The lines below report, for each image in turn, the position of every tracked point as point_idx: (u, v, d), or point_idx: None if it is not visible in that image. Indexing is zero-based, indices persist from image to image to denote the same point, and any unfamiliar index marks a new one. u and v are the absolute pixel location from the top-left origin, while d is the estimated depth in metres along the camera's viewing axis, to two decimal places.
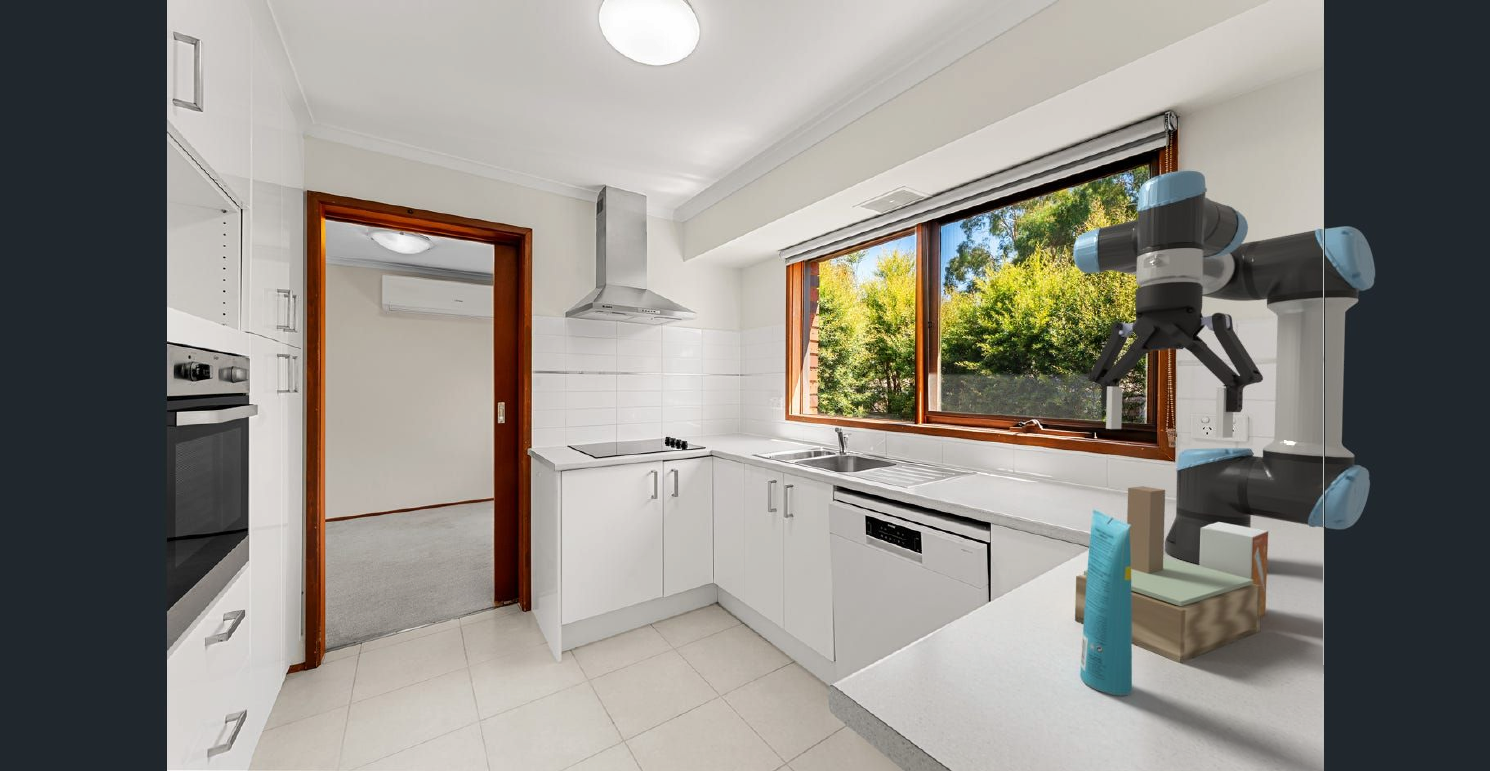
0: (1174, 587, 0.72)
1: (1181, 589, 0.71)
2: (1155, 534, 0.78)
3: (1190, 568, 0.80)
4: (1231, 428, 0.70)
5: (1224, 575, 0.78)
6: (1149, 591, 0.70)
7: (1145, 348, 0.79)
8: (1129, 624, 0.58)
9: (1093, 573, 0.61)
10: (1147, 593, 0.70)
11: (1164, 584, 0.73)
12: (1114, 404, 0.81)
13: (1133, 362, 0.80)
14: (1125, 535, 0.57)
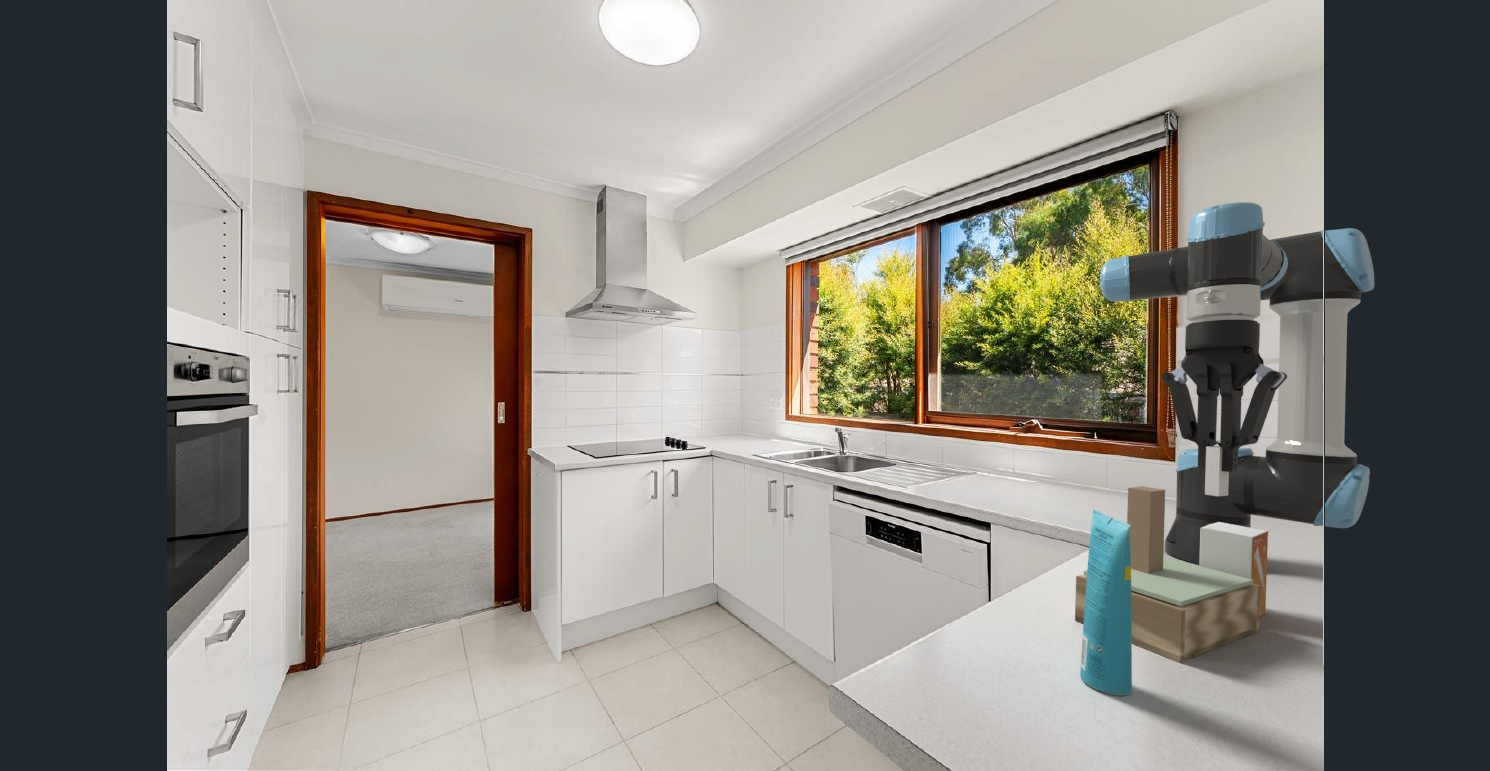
0: (1174, 587, 0.72)
1: (1181, 589, 0.71)
2: (1155, 534, 0.78)
3: (1190, 568, 0.80)
4: (1227, 486, 0.72)
5: (1224, 575, 0.78)
6: (1149, 591, 0.70)
7: None
8: (1129, 624, 0.58)
9: (1093, 573, 0.61)
10: (1147, 593, 0.70)
11: (1164, 584, 0.73)
12: None
13: (1213, 408, 0.73)
14: (1125, 535, 0.57)
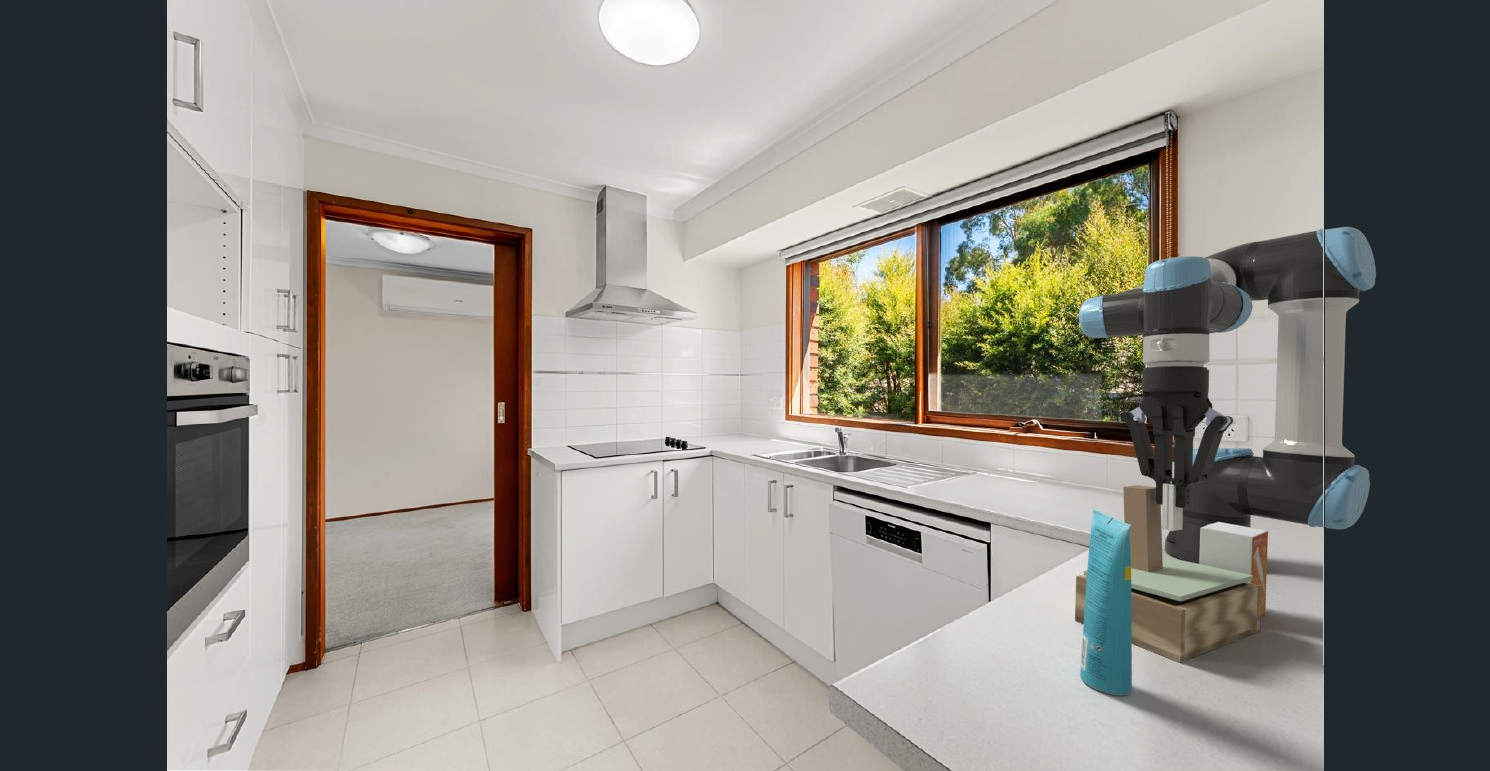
0: (1174, 583, 0.72)
1: (1181, 585, 0.71)
2: (1152, 531, 0.78)
3: (1190, 566, 0.80)
4: (1181, 521, 0.76)
5: (1224, 572, 0.78)
6: (1149, 587, 0.70)
7: (1168, 430, 0.78)
8: (1129, 624, 0.58)
9: (1093, 573, 0.61)
10: (1147, 590, 0.70)
11: (1164, 581, 0.73)
12: None
13: (1169, 447, 0.77)
14: (1125, 535, 0.57)
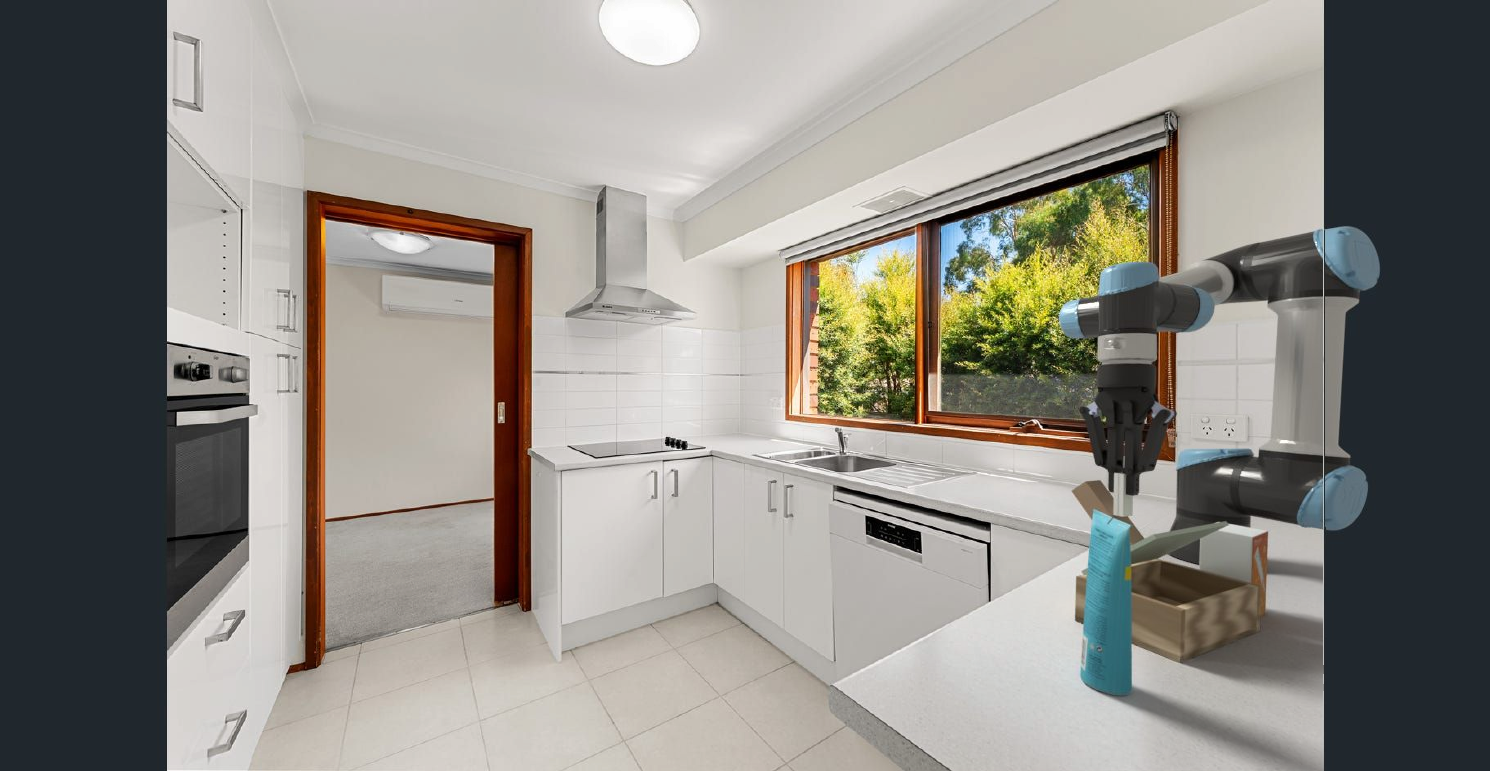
0: None
1: None
2: (1118, 516, 0.83)
3: None
4: (1131, 508, 0.82)
5: None
6: (1130, 546, 0.72)
7: (1120, 423, 0.83)
8: (1129, 624, 0.58)
9: (1093, 573, 0.61)
10: None
11: None
12: None
13: (1120, 439, 0.83)
14: (1125, 535, 0.57)
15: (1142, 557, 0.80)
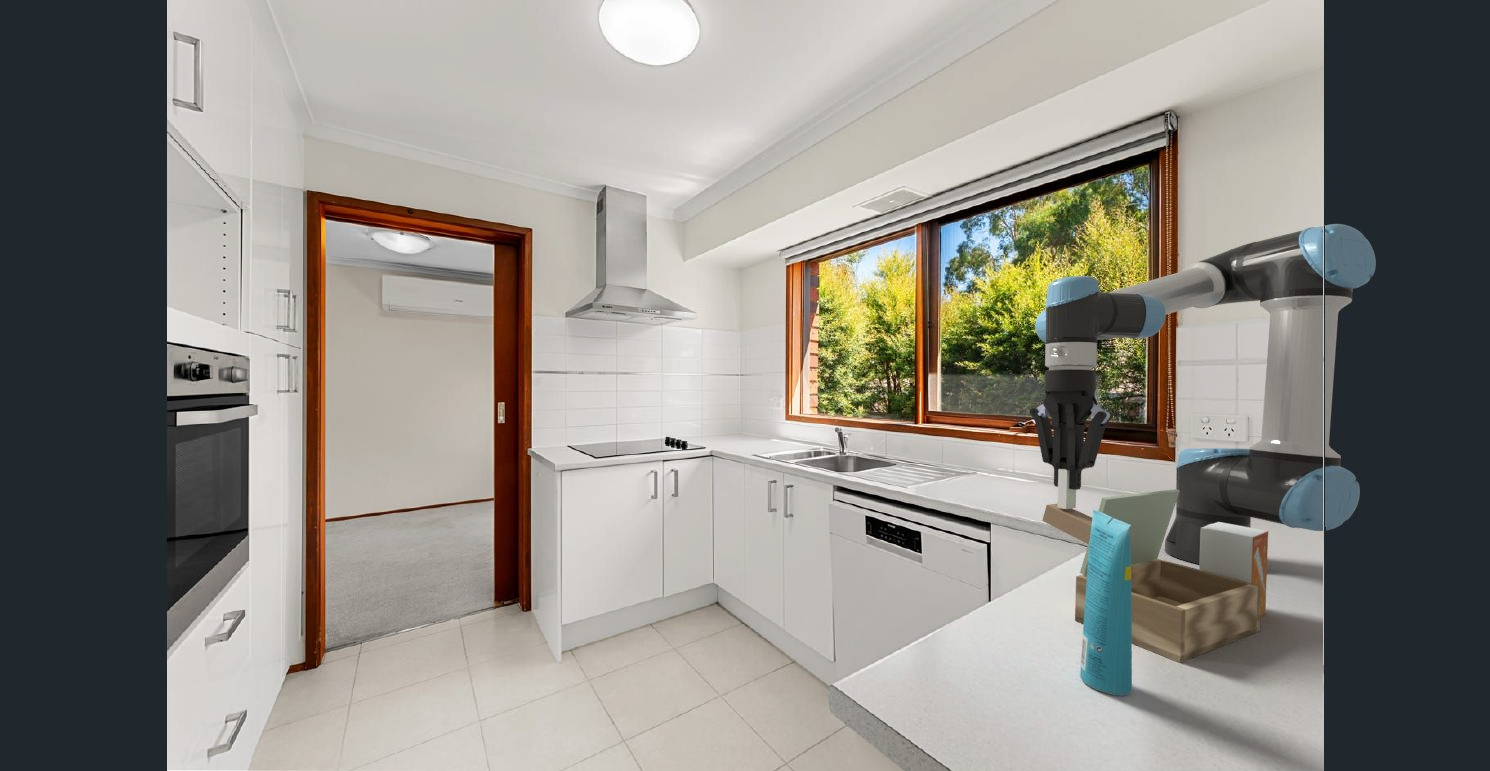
0: None
1: None
2: (1088, 521, 0.86)
3: None
4: (1074, 501, 0.90)
5: None
6: None
7: (1065, 424, 0.91)
8: (1129, 624, 0.58)
9: (1093, 573, 0.61)
10: None
11: None
12: None
13: (1065, 438, 0.91)
14: (1125, 535, 0.57)
15: (1130, 547, 0.82)
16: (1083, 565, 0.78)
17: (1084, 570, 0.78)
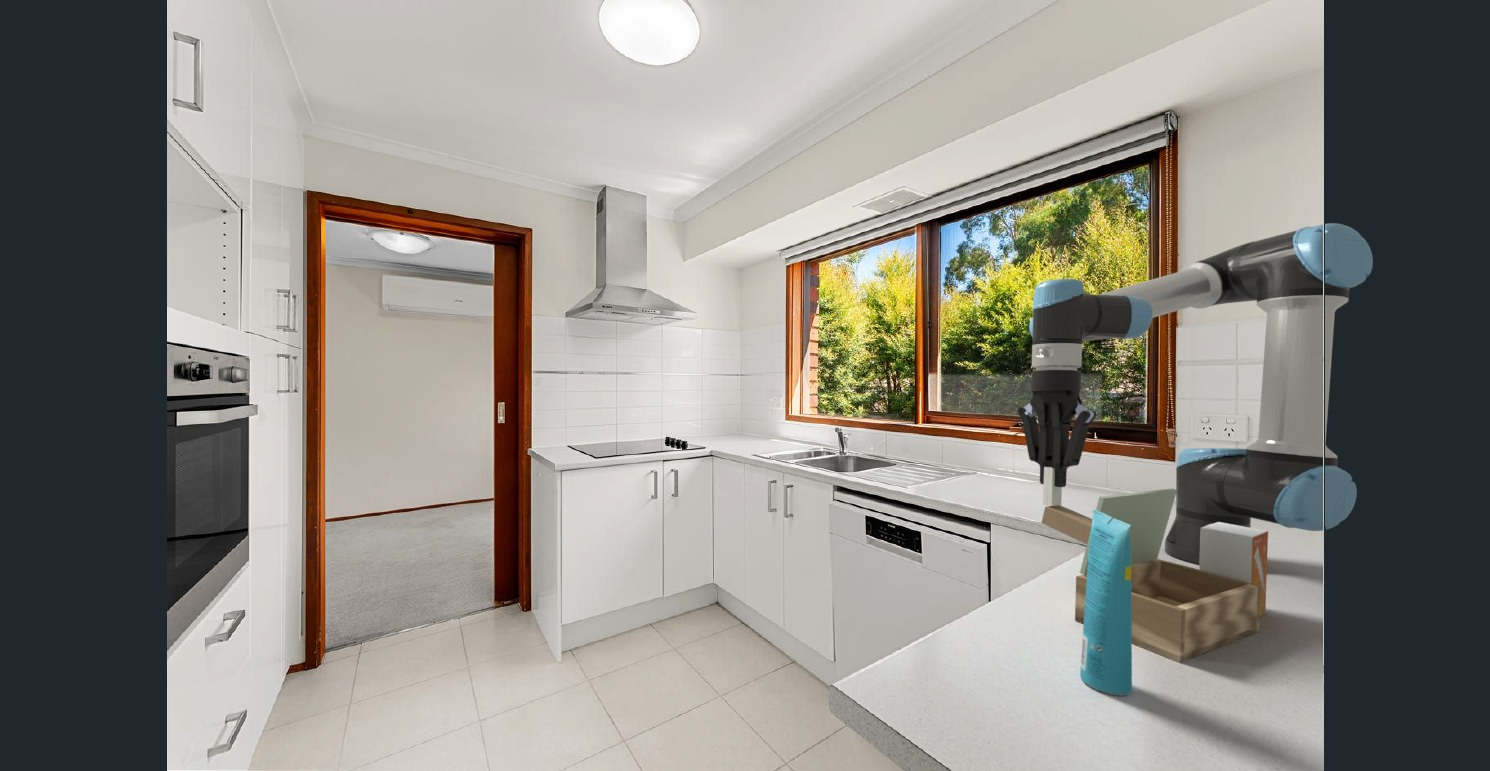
0: None
1: None
2: (1087, 522, 0.87)
3: None
4: (1060, 498, 0.92)
5: None
6: None
7: (1051, 423, 0.94)
8: (1129, 624, 0.58)
9: (1093, 573, 0.61)
10: None
11: None
12: None
13: (1051, 437, 0.93)
14: (1125, 535, 0.57)
15: None
16: (1083, 565, 0.78)
17: (1084, 570, 0.78)
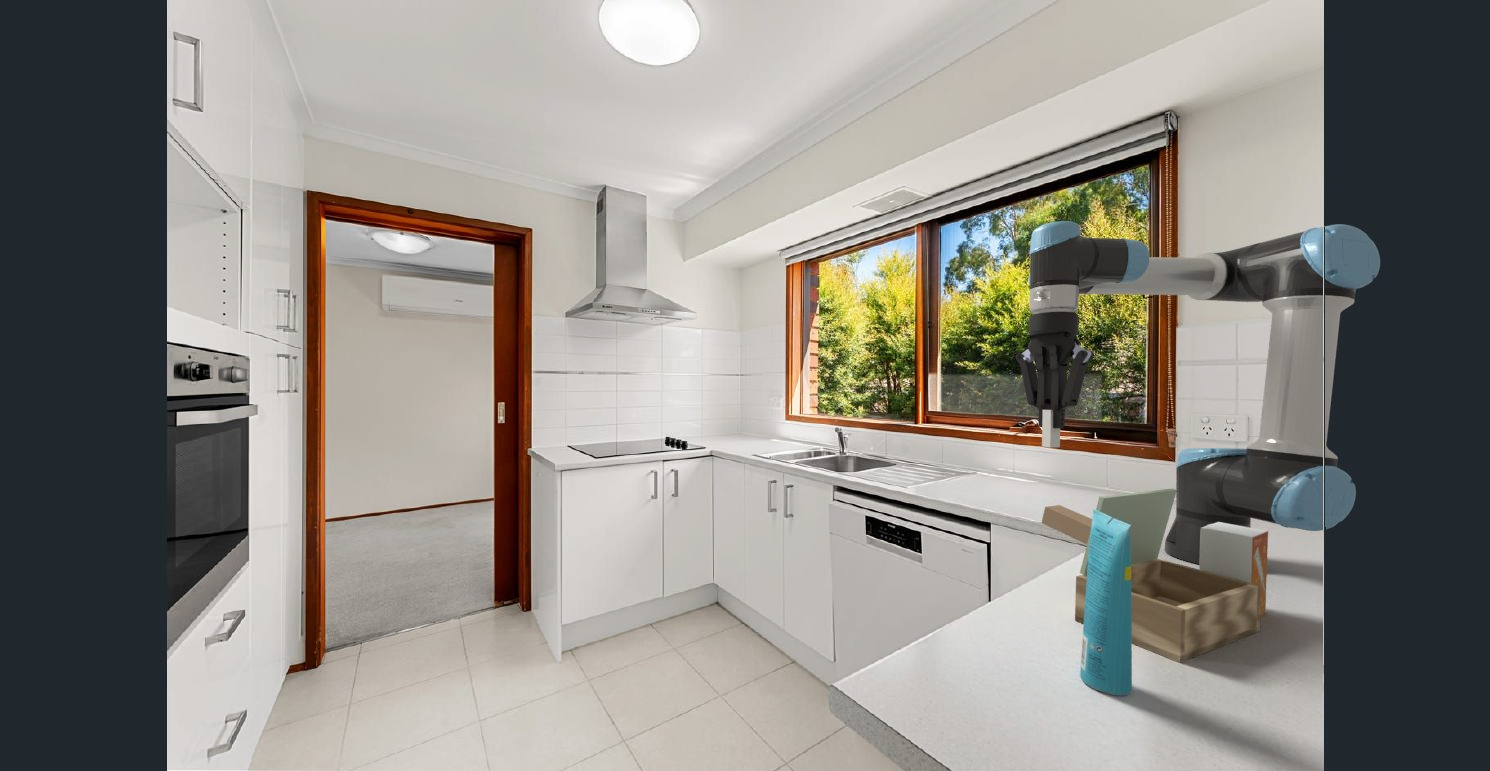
0: None
1: None
2: (1087, 522, 0.87)
3: None
4: (1058, 440, 0.93)
5: None
6: None
7: (1049, 366, 0.94)
8: (1129, 624, 0.58)
9: (1093, 573, 0.61)
10: None
11: None
12: None
13: (1049, 380, 0.94)
14: (1125, 535, 0.57)
15: None
16: (1083, 565, 0.78)
17: (1084, 570, 0.78)
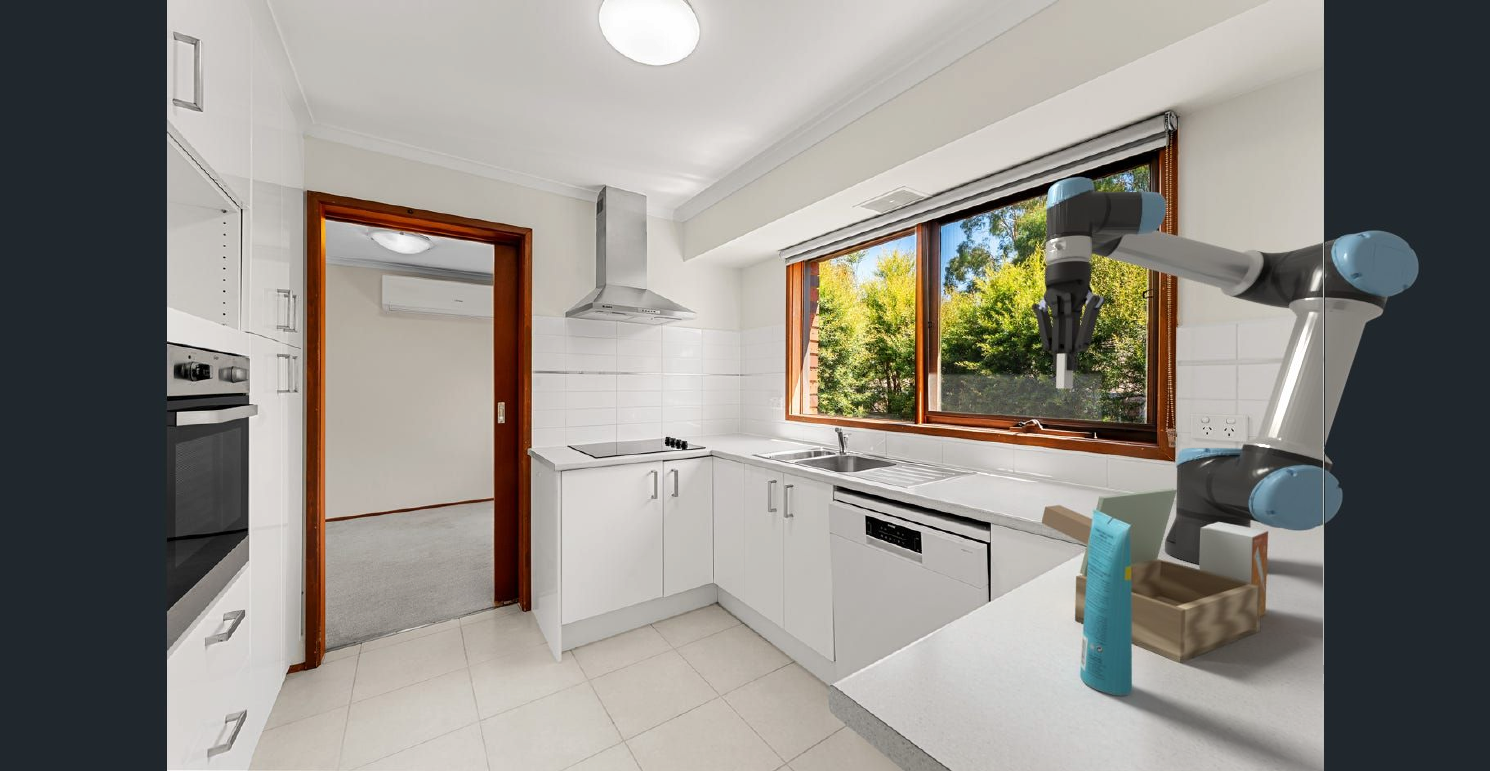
0: None
1: None
2: (1087, 522, 0.87)
3: None
4: (1071, 382, 1.00)
5: None
6: None
7: None
8: (1129, 624, 0.58)
9: (1093, 573, 0.61)
10: None
11: None
12: None
13: (1063, 327, 1.01)
14: (1125, 535, 0.57)
15: None
16: (1083, 565, 0.78)
17: (1084, 570, 0.78)
